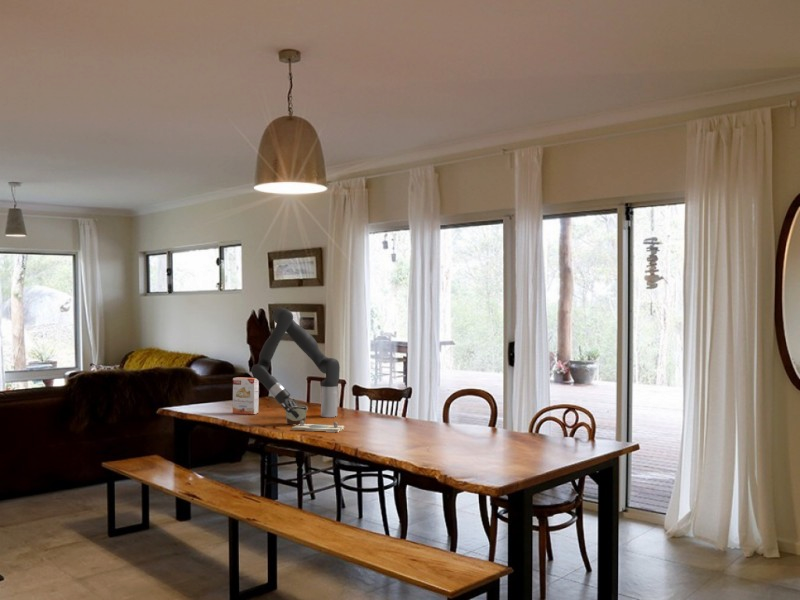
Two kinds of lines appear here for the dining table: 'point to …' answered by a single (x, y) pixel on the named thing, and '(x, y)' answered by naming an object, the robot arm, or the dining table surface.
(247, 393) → the cracker box
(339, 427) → the board
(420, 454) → the dining table surface
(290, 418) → the food container
